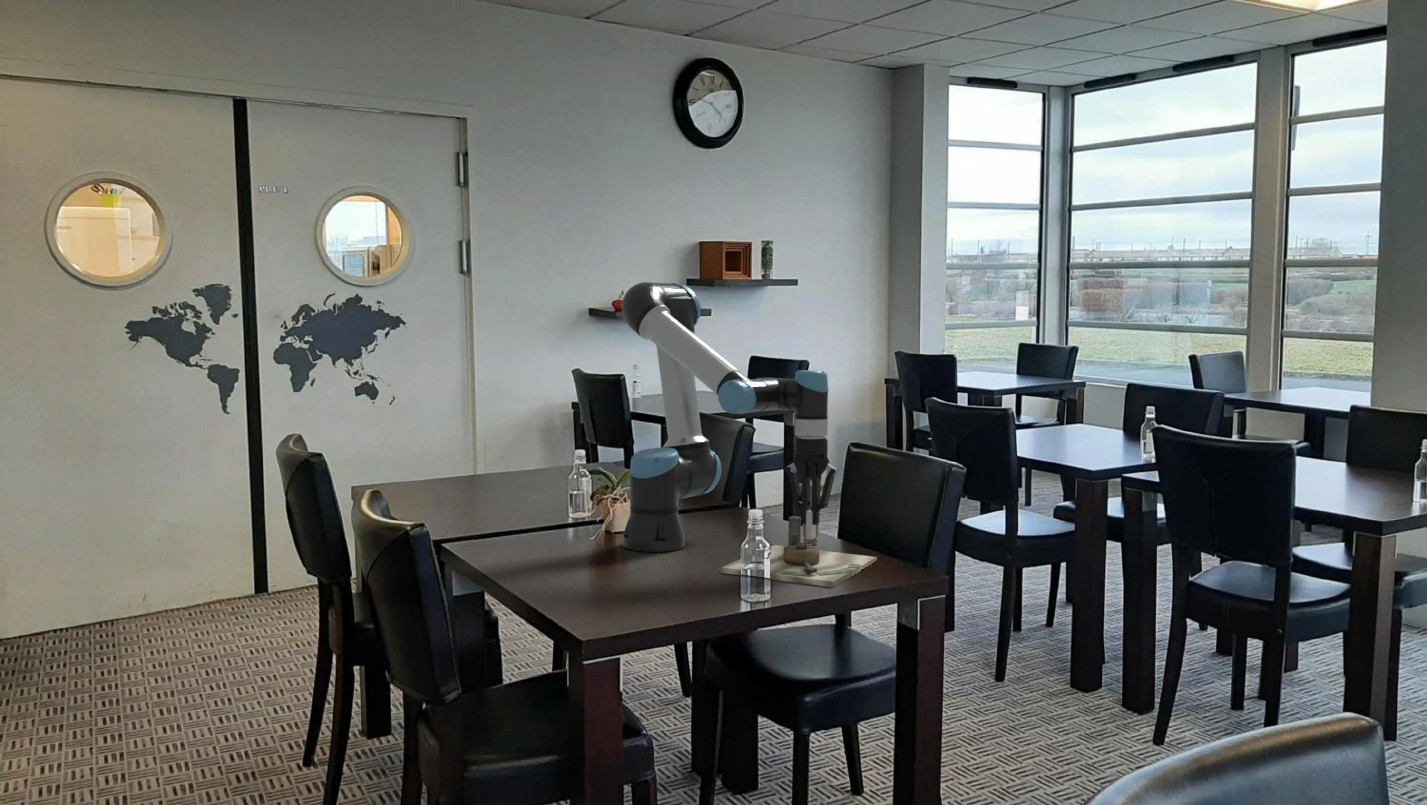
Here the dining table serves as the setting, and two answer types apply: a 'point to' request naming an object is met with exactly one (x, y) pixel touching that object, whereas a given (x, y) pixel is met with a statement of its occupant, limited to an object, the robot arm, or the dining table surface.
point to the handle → (807, 541)
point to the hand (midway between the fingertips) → (810, 538)
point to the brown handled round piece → (799, 548)
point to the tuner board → (829, 567)
